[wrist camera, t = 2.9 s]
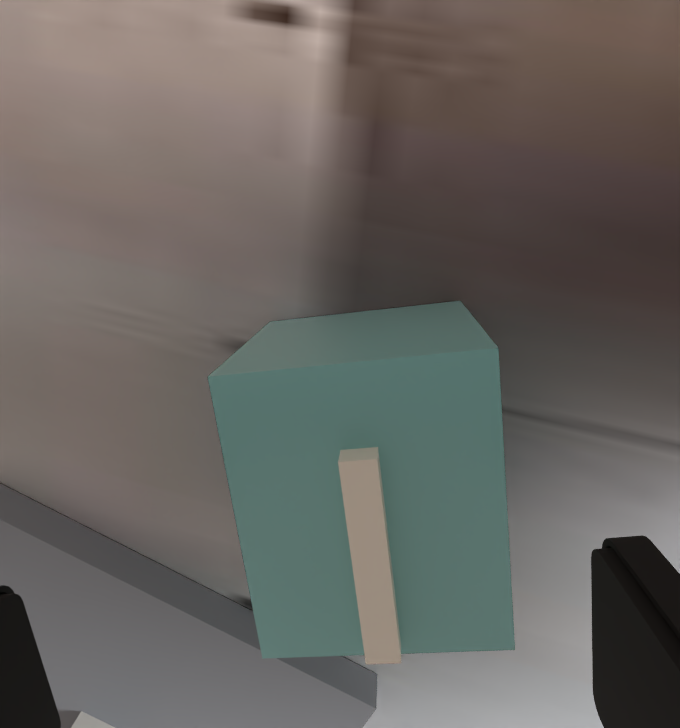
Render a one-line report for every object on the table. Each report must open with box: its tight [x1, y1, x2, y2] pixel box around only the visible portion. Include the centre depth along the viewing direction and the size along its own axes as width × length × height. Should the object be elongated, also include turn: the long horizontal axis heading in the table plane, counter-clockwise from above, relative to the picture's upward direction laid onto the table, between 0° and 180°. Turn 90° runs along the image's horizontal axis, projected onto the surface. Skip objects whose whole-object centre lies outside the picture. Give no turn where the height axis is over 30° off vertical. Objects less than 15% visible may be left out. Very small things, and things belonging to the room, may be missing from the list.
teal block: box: [208, 301, 515, 664], centre depth 15 cm, size 7×6×7 cm
